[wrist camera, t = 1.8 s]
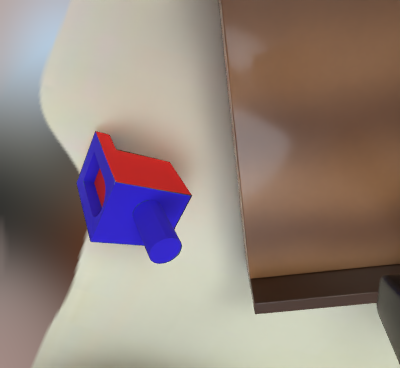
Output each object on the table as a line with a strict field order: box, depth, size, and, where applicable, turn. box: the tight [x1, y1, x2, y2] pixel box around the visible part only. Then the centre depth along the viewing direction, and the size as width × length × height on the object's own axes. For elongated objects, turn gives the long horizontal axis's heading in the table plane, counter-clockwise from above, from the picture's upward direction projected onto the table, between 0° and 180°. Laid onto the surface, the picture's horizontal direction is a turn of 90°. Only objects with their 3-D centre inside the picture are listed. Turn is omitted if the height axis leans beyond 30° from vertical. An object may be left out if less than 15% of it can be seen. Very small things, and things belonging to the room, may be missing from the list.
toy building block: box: [77, 131, 192, 264], centre depth 18 cm, size 4×4×8 cm
